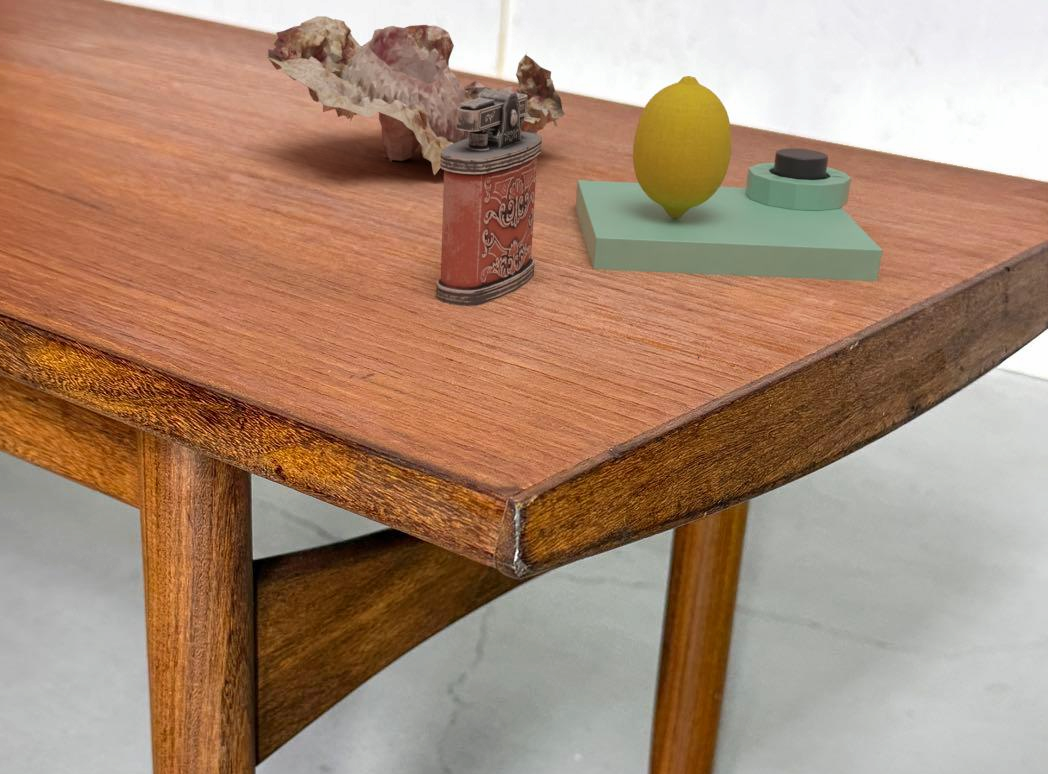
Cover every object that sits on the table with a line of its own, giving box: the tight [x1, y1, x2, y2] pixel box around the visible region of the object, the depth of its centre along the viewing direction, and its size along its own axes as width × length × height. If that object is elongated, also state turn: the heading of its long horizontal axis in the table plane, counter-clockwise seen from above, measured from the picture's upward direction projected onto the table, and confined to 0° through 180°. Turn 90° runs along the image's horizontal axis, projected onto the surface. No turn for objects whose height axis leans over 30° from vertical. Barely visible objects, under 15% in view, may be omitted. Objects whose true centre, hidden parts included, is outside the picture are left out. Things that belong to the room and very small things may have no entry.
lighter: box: [435, 89, 543, 307], centre depth 76 cm, size 8×3×10 cm, turn 154°
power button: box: [773, 147, 829, 180], centre depth 92 cm, size 3×3×2 cm
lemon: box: [632, 75, 732, 218], centre depth 85 cm, size 6×6×8 cm
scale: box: [575, 161, 883, 282], centre depth 89 cm, size 17×15×4 cm
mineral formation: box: [266, 15, 565, 176], centre depth 104 cm, size 23×16×10 cm
